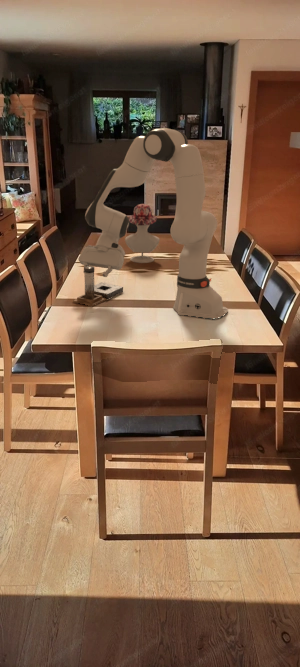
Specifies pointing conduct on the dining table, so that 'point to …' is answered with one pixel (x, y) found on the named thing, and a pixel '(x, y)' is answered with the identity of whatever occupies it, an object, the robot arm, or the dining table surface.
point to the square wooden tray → (89, 302)
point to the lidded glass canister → (89, 282)
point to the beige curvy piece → (142, 234)
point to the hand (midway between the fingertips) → (94, 274)
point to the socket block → (107, 290)
